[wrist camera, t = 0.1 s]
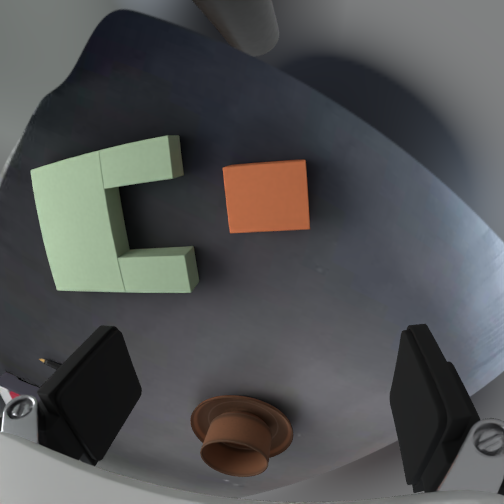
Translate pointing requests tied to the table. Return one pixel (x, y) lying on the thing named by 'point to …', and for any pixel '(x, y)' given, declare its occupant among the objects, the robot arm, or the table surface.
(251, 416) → the cup and saucer
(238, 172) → the orange block
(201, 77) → the table surface
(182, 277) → the base pad
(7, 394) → the calculator
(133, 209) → the table surface
